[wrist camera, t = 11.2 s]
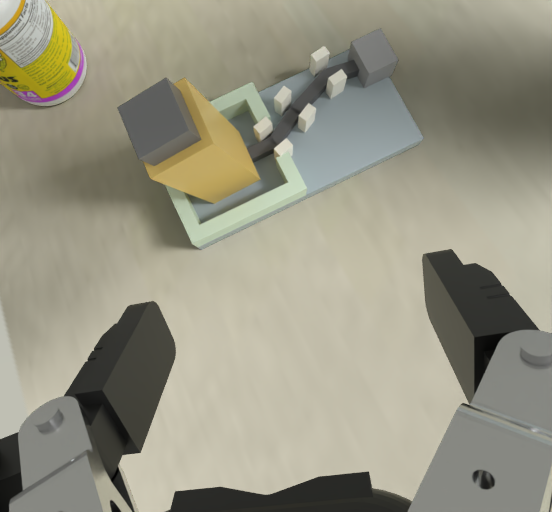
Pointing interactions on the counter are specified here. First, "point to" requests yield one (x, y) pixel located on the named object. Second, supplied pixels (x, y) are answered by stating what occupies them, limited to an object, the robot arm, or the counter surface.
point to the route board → (307, 136)
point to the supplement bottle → (38, 53)
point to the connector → (187, 141)
